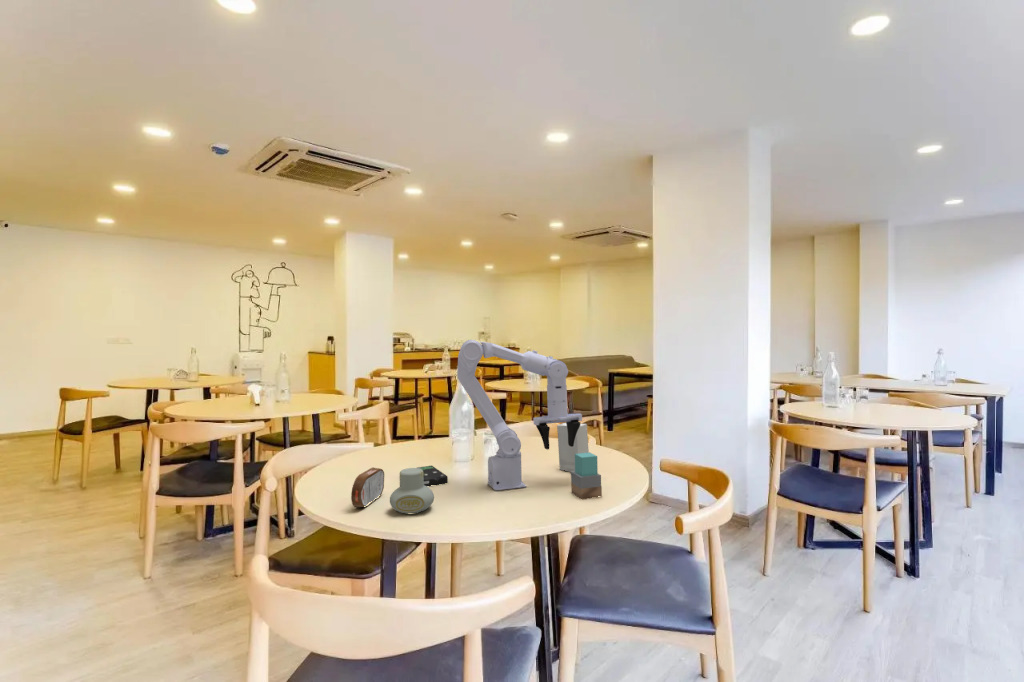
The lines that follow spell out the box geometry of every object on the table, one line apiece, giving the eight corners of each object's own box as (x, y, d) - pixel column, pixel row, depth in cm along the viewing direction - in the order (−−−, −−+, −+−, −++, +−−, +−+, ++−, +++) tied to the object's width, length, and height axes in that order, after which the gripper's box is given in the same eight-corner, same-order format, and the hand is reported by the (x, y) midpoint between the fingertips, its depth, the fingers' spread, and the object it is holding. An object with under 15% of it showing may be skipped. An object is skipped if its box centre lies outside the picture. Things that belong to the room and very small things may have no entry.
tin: (376, 493, 141) (375, 463, 141) (386, 494, 141) (386, 463, 141) (350, 512, 127) (349, 478, 126) (362, 513, 126) (361, 479, 126)
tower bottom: (581, 500, 133) (581, 488, 133) (571, 493, 139) (571, 482, 139) (601, 497, 135) (601, 486, 135) (591, 491, 141) (590, 480, 141)
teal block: (582, 476, 134) (581, 457, 134) (575, 472, 138) (574, 453, 138) (597, 474, 135) (597, 456, 135) (590, 470, 140) (589, 452, 140)
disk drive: (448, 485, 150) (432, 473, 163) (448, 476, 150) (431, 464, 163) (414, 491, 145) (400, 478, 158) (414, 481, 145) (400, 469, 158)
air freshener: (387, 517, 123) (386, 476, 123) (393, 505, 131) (392, 467, 131) (432, 515, 124) (431, 474, 123) (435, 503, 132) (434, 465, 132)
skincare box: (590, 470, 161) (589, 424, 160) (578, 474, 156) (577, 426, 156) (569, 466, 167) (568, 421, 166) (557, 469, 162) (556, 423, 162)
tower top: (580, 488, 133) (580, 477, 133) (571, 482, 139) (571, 471, 139) (601, 486, 135) (601, 475, 135) (591, 480, 141) (590, 469, 141)
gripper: (538, 404, 142) (540, 452, 142) (585, 400, 146) (587, 447, 146) (530, 401, 148) (532, 447, 149) (575, 397, 153) (577, 442, 153)
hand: (559, 447), depth 148 cm, fingers open, 7 cm apart
